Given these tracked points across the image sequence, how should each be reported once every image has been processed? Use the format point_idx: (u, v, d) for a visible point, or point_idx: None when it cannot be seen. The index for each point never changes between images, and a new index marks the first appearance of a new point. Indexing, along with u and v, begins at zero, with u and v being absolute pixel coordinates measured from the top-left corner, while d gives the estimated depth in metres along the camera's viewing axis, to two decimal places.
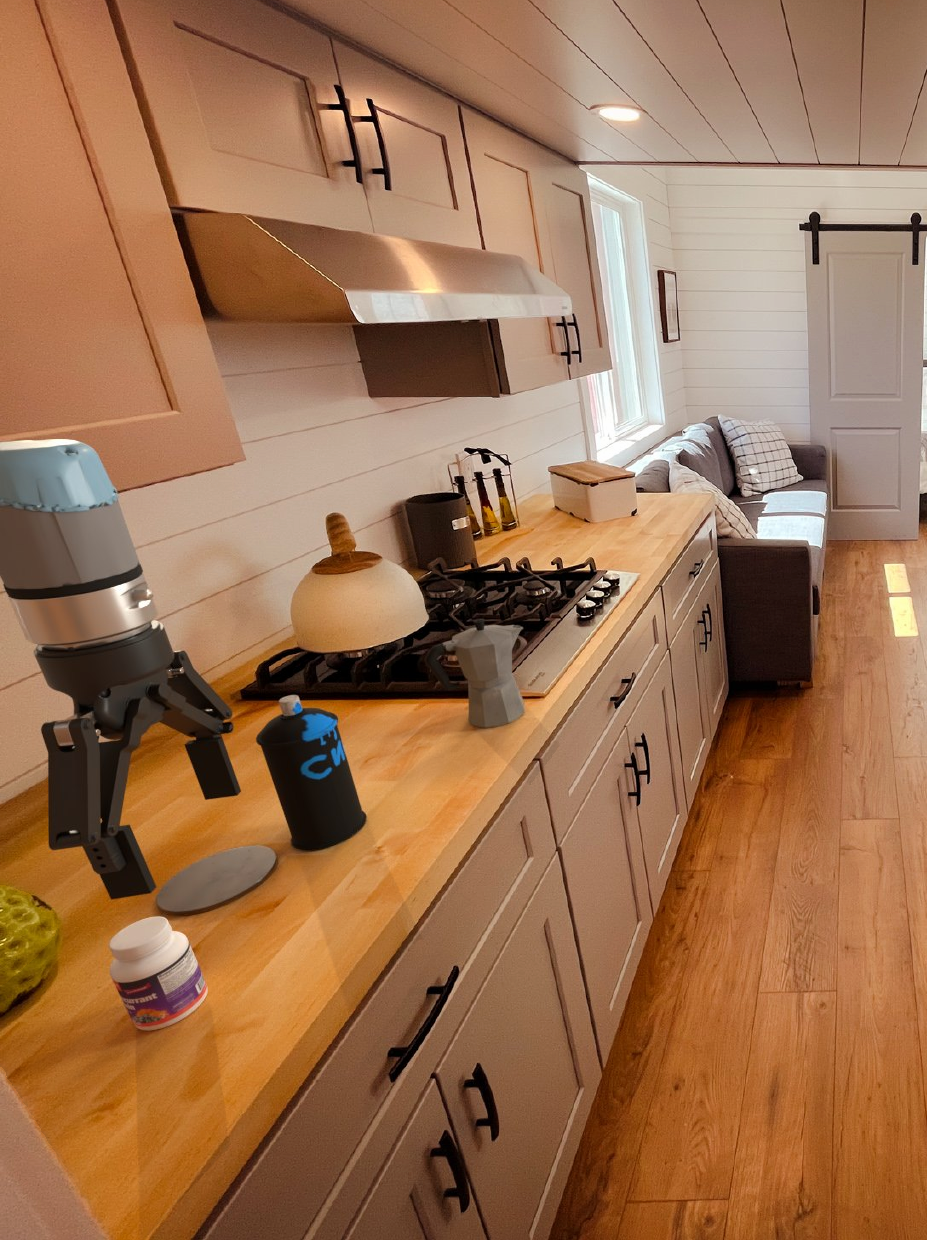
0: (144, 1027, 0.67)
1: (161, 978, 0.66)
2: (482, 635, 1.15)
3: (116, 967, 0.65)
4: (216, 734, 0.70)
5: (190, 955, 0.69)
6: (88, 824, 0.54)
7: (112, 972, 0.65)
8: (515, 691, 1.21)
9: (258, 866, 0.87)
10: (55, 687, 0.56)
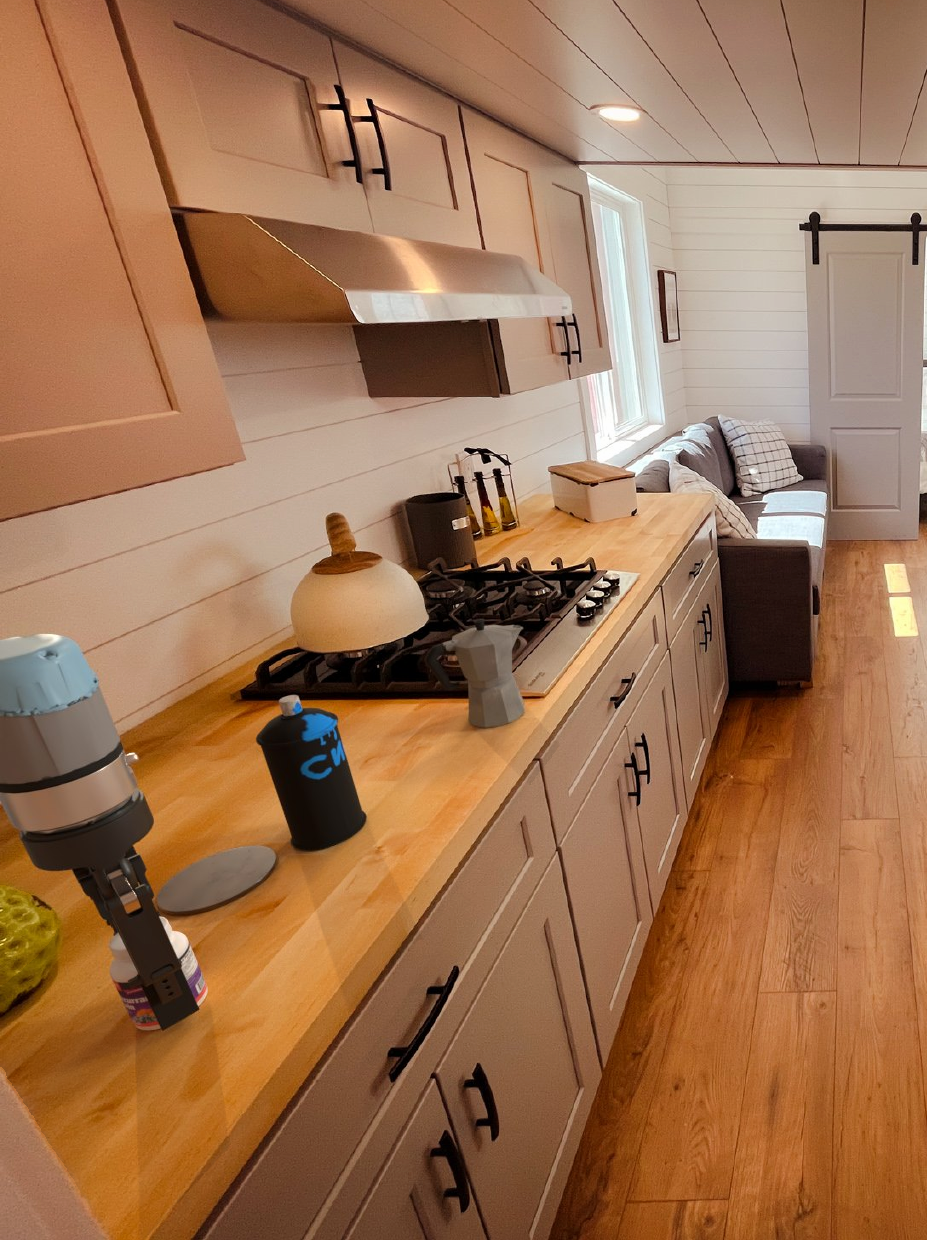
0: (144, 1027, 0.67)
1: None
2: (482, 635, 1.15)
3: (116, 967, 0.65)
4: None
5: (190, 955, 0.69)
6: (175, 956, 0.64)
7: (112, 972, 0.65)
8: (515, 691, 1.21)
9: (258, 866, 0.87)
10: (73, 865, 0.59)
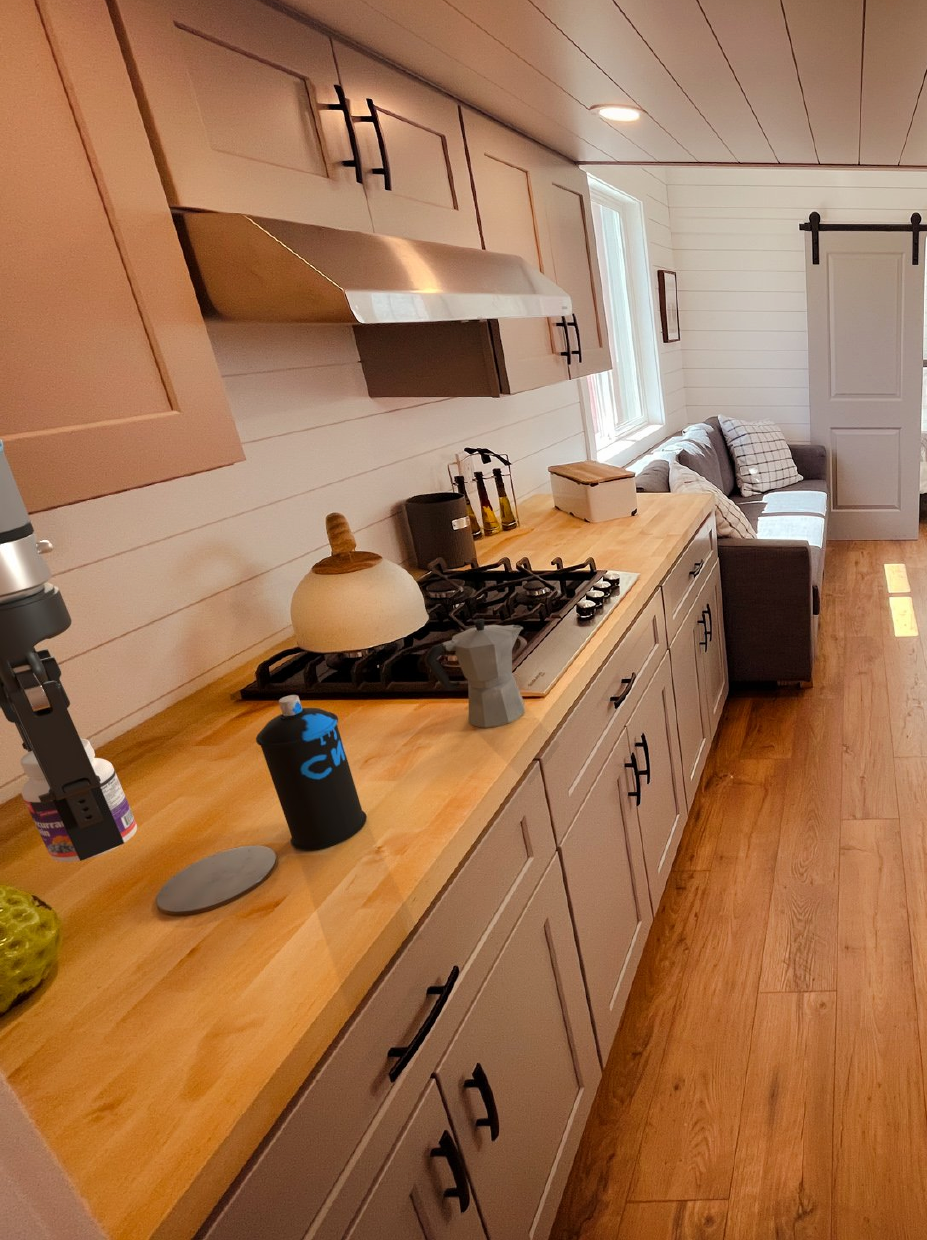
0: (61, 858, 0.60)
1: None
2: (482, 635, 1.15)
3: (28, 786, 0.59)
4: None
5: (115, 783, 0.62)
6: (92, 770, 0.57)
7: (23, 791, 0.58)
8: (515, 691, 1.21)
9: (258, 866, 0.87)
10: None
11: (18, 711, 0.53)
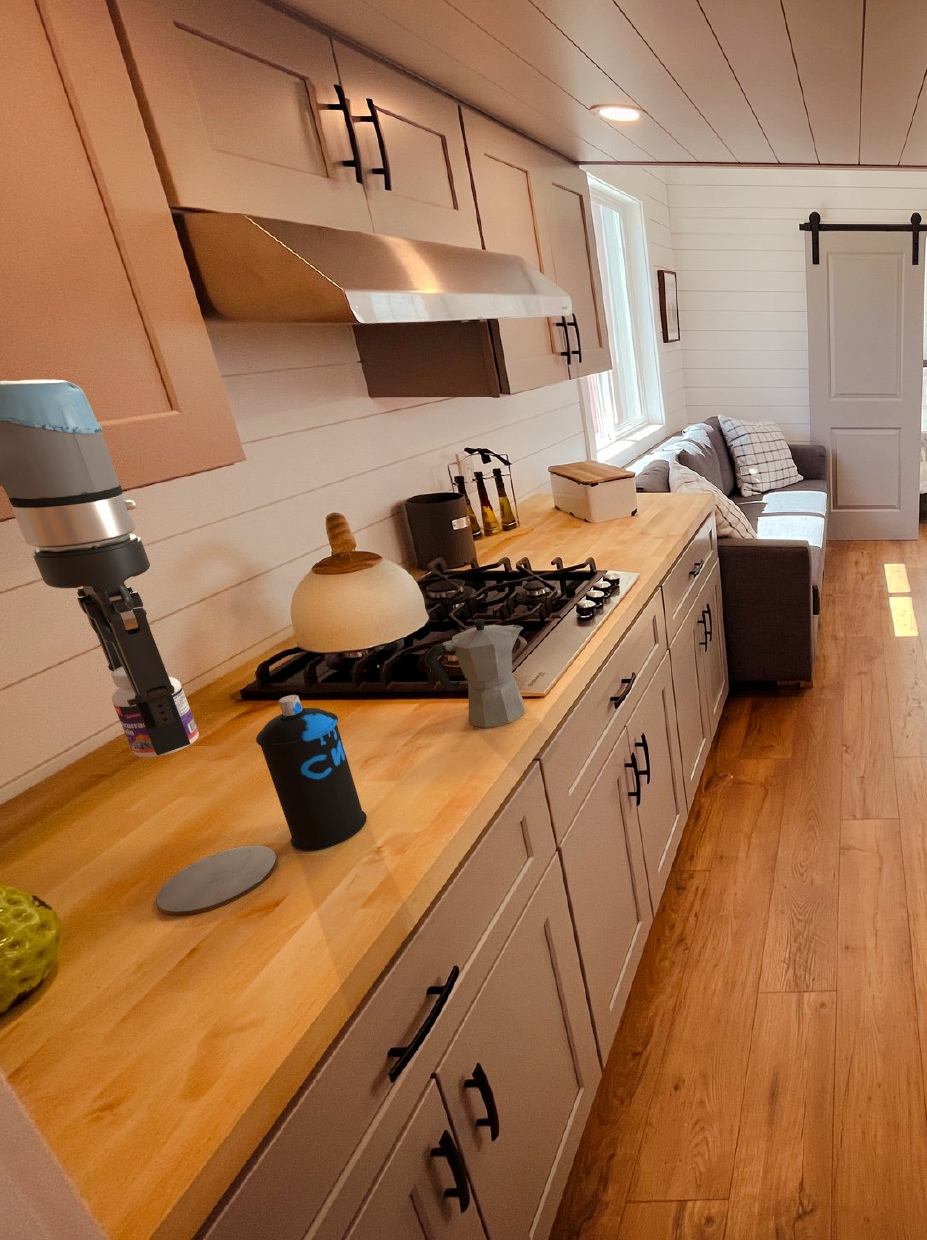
0: (142, 754, 0.76)
1: None
2: (482, 635, 1.15)
3: (117, 694, 0.74)
4: None
5: (182, 696, 0.78)
6: (168, 680, 0.73)
7: (114, 698, 0.74)
8: (515, 691, 1.21)
9: (258, 866, 0.87)
10: (79, 582, 0.68)
11: (115, 629, 0.69)
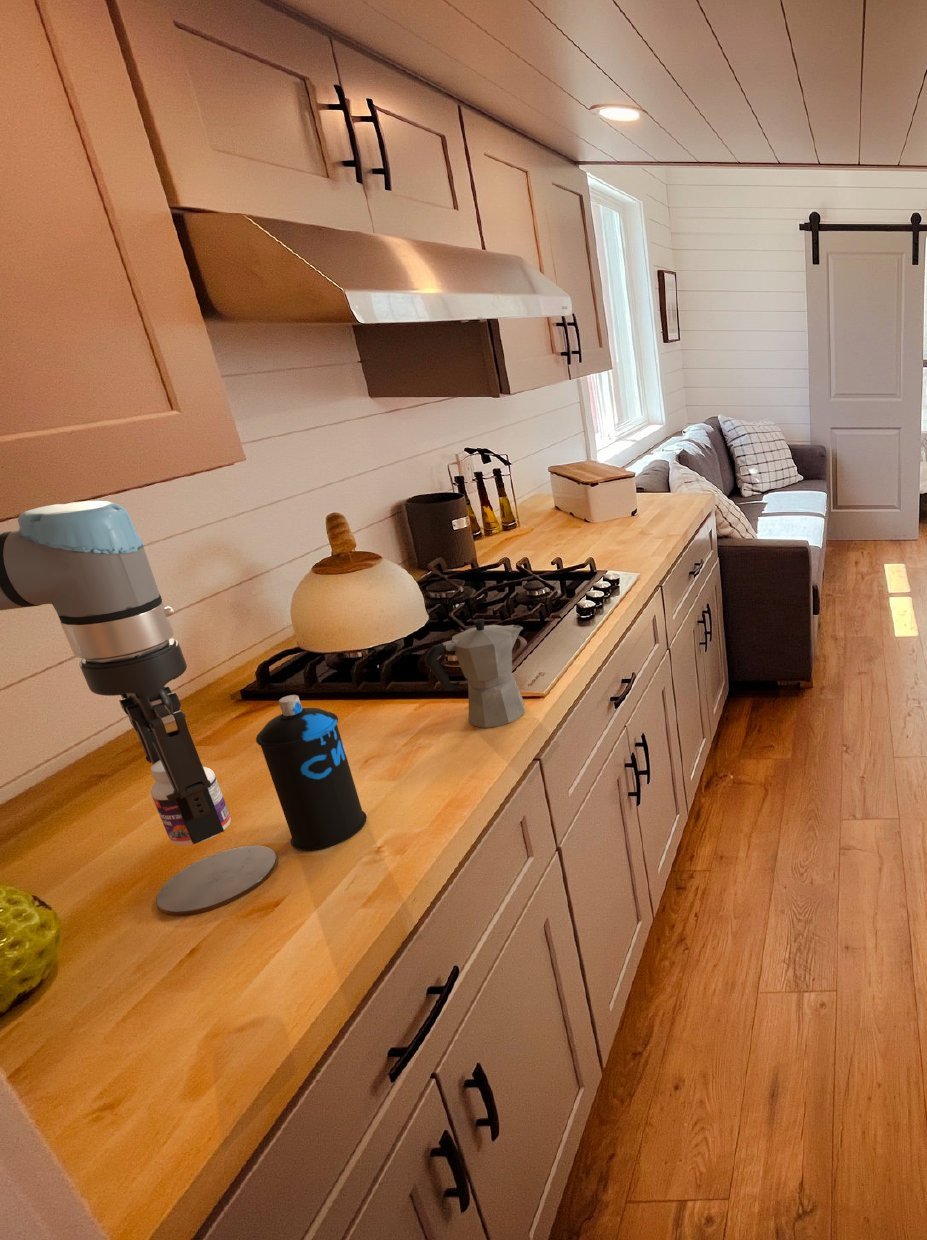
0: (179, 842, 0.80)
1: None
2: (482, 635, 1.15)
3: (156, 788, 0.79)
4: None
5: (216, 785, 0.82)
6: (205, 776, 0.77)
7: (153, 792, 0.79)
8: (515, 691, 1.21)
9: (258, 866, 0.87)
10: (123, 690, 0.73)
11: (157, 733, 0.73)
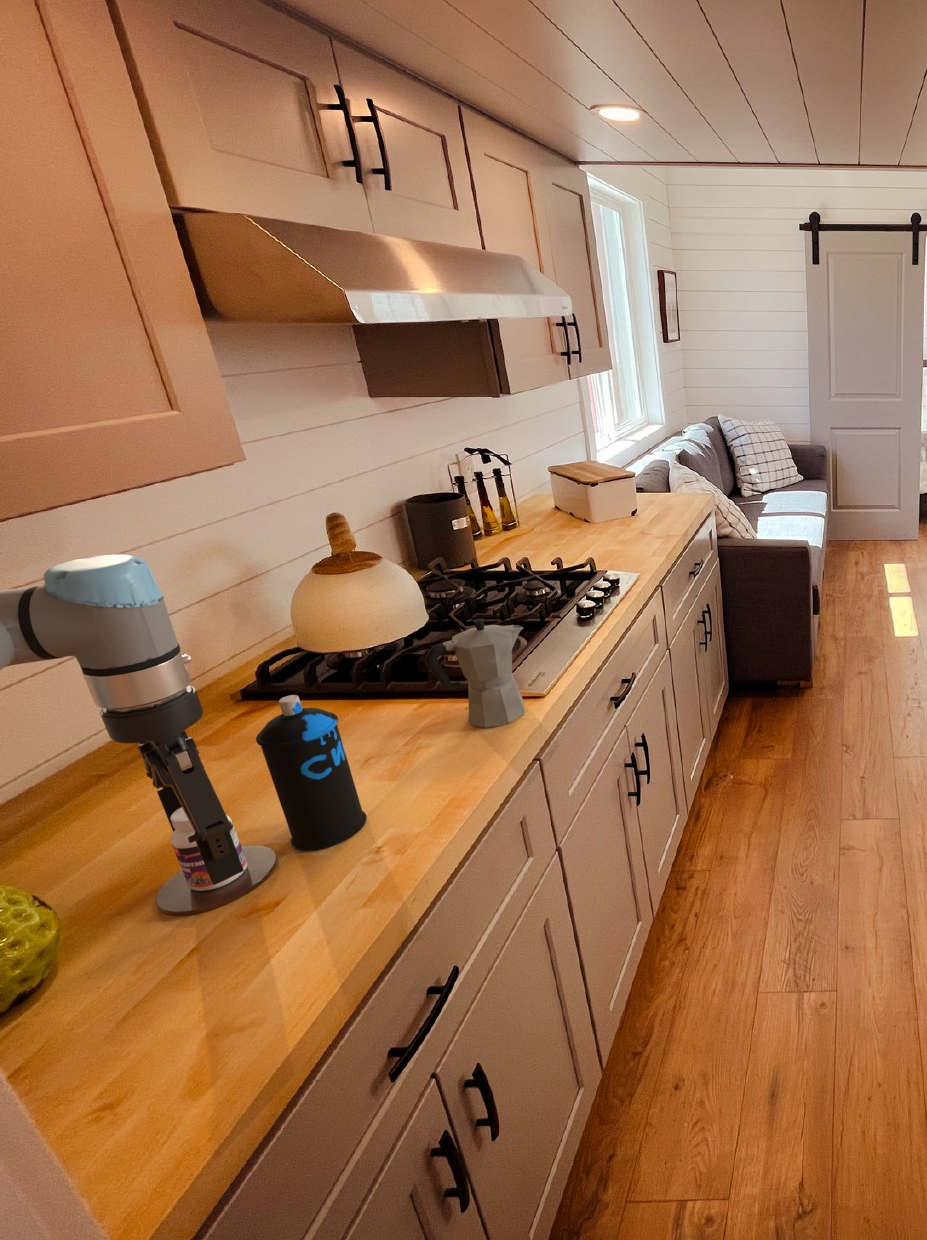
0: (197, 888, 0.83)
1: None
2: (482, 635, 1.15)
3: (176, 836, 0.81)
4: None
5: (233, 832, 0.85)
6: (225, 815, 0.77)
7: (173, 840, 0.81)
8: (515, 691, 1.21)
9: (258, 866, 0.87)
10: (142, 738, 0.75)
11: (171, 769, 0.74)
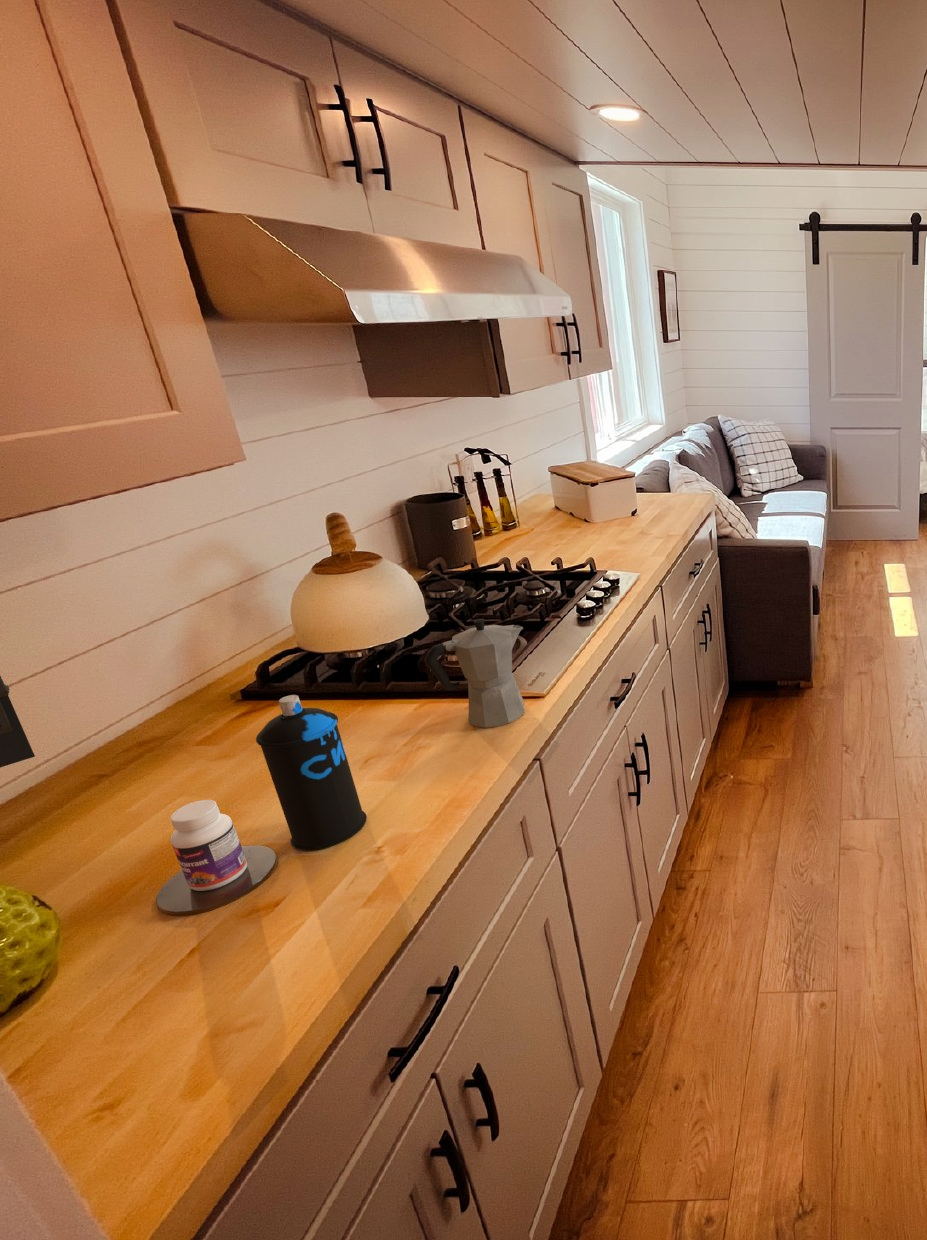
0: (197, 888, 0.83)
1: (212, 847, 0.82)
2: (482, 635, 1.15)
3: (176, 836, 0.81)
4: None
5: (233, 832, 0.85)
6: None
7: (173, 840, 0.81)
8: (515, 691, 1.21)
9: (258, 866, 0.87)
10: None
11: None
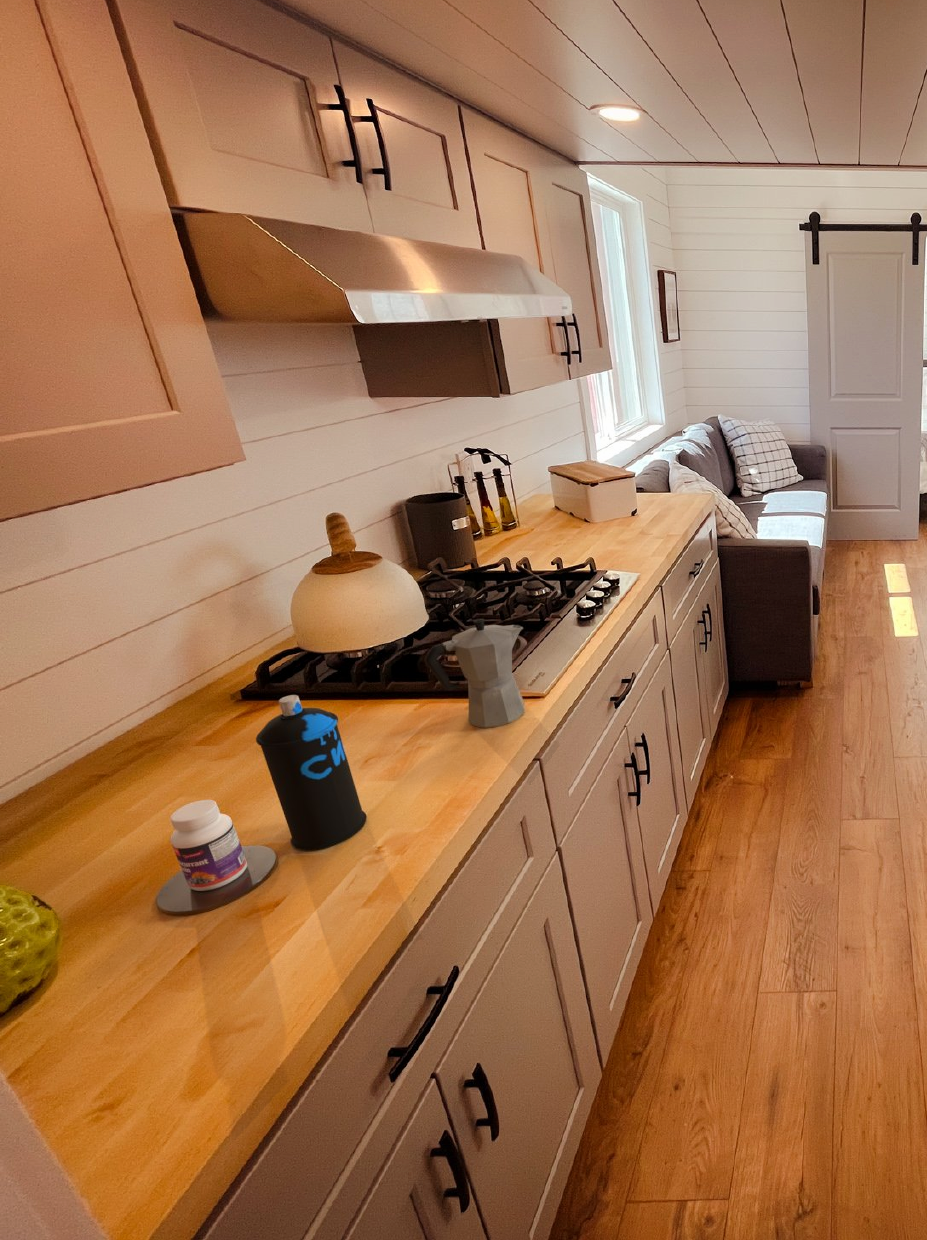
0: (197, 888, 0.83)
1: (212, 847, 0.82)
2: (482, 635, 1.15)
3: (176, 836, 0.81)
4: None
5: (233, 832, 0.85)
6: None
7: (173, 840, 0.81)
8: (515, 691, 1.21)
9: (258, 866, 0.87)
10: None
11: None
